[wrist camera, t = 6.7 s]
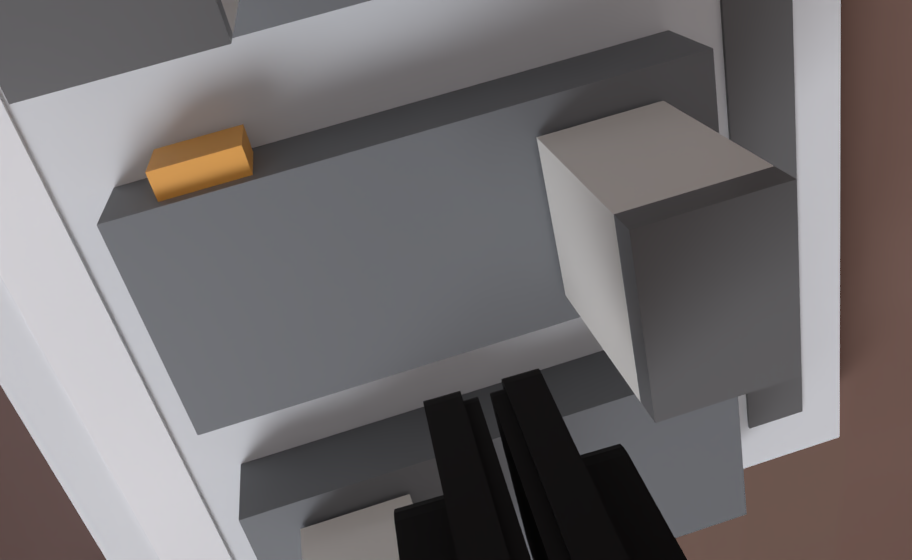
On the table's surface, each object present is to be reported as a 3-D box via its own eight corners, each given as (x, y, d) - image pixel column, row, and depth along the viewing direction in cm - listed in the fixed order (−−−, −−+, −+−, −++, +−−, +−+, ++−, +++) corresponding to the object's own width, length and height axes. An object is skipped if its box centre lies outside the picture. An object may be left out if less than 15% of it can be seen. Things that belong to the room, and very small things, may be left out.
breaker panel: (793, -467, 16) (923, -548, 12) (809, 407, 26) (884, 481, 22) (-304, -208, 14) (-464, -228, 11) (171, 615, 24) (159, 725, 21)
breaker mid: (663, 100, 16) (796, 179, 12) (679, 260, 18) (801, 375, 14) (536, 137, 16) (629, 229, 12) (565, 295, 18) (655, 423, 14)
